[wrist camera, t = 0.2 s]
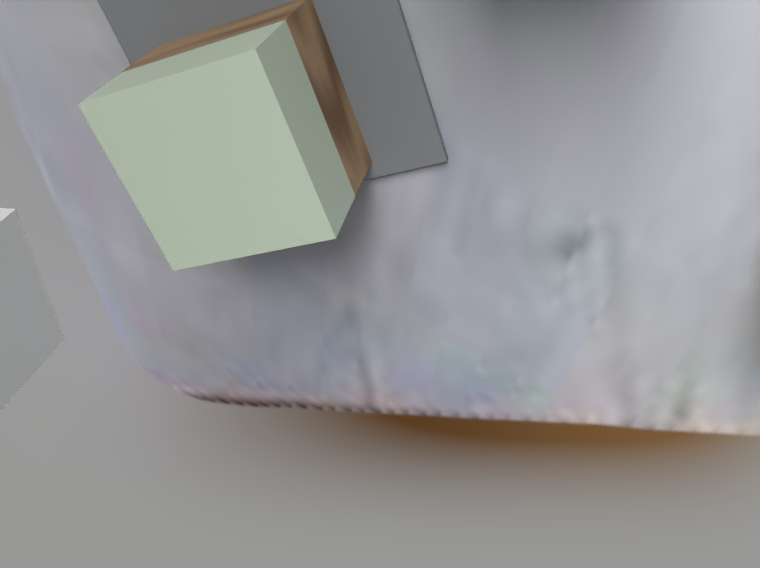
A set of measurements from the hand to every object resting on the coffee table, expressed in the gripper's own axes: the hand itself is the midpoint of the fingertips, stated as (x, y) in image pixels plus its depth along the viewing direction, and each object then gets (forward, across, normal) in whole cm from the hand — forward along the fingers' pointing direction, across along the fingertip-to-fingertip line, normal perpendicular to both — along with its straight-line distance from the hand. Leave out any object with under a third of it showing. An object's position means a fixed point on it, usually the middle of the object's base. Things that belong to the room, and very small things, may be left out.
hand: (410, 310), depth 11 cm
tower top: (+22, -12, -8) cm, 27 cm away
